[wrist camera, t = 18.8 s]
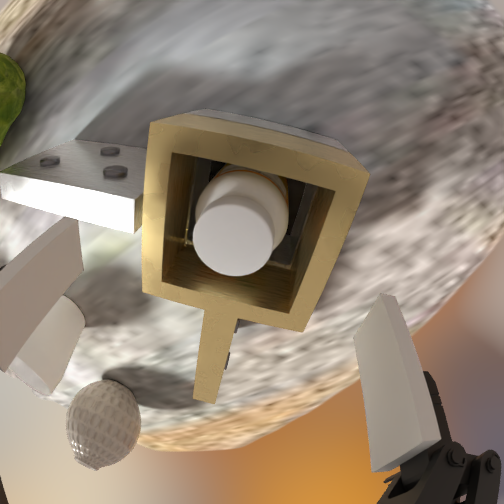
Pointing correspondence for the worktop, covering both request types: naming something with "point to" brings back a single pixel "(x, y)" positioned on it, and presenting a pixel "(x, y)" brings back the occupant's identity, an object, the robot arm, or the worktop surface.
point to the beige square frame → (269, 276)
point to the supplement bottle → (240, 219)
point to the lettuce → (10, 93)
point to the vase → (103, 424)
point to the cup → (50, 347)
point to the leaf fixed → (129, 183)
